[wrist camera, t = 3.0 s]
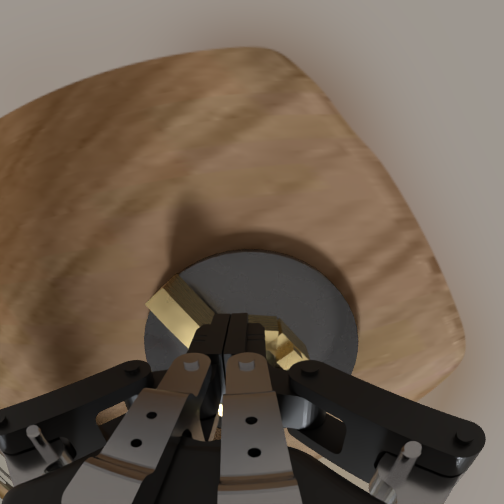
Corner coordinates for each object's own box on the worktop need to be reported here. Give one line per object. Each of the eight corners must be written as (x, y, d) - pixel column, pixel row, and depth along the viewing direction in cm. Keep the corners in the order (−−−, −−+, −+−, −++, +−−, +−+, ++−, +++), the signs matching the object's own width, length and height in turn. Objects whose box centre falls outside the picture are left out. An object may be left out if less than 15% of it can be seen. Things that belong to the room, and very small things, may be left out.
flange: (242, 445, 31) (240, 484, 24) (113, 335, 28) (83, 367, 21) (386, 354, 28) (412, 388, 21) (263, 199, 25) (265, 200, 18)
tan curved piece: (324, 365, 26) (333, 389, 22) (245, 415, 28) (244, 441, 24) (210, 242, 24) (201, 251, 20) (134, 312, 26) (116, 331, 21)
